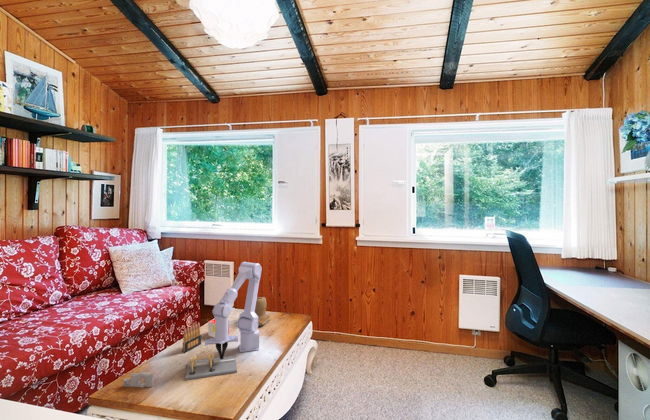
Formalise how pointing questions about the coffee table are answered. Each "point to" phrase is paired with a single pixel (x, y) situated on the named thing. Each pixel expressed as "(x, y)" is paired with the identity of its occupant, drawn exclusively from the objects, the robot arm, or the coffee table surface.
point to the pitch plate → (203, 368)
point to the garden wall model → (136, 381)
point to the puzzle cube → (213, 328)
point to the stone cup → (261, 310)
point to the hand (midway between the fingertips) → (221, 358)
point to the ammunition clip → (191, 338)
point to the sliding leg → (211, 359)
